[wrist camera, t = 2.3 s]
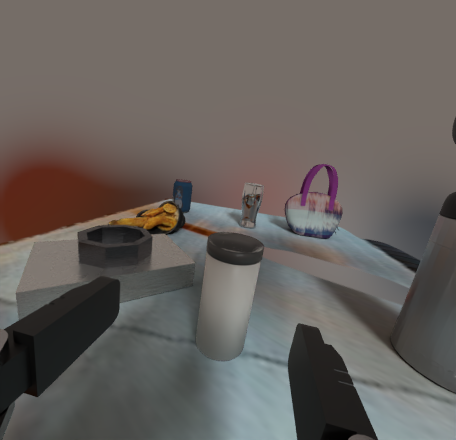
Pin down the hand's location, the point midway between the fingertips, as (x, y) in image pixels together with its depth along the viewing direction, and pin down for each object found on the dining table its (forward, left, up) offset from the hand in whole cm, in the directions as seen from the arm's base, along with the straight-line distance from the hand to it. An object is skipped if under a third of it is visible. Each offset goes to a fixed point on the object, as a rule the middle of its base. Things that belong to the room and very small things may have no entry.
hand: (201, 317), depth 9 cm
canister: (-9, -9, -13) cm, 18 cm away
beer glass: (-46, -47, -13) cm, 67 cm away
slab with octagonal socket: (-1, -27, -13) cm, 29 cm away
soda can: (-30, -69, -13) cm, 76 cm away
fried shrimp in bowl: (-12, -46, -13) cm, 49 cm away
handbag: (-66, -35, -13) cm, 75 cm away
